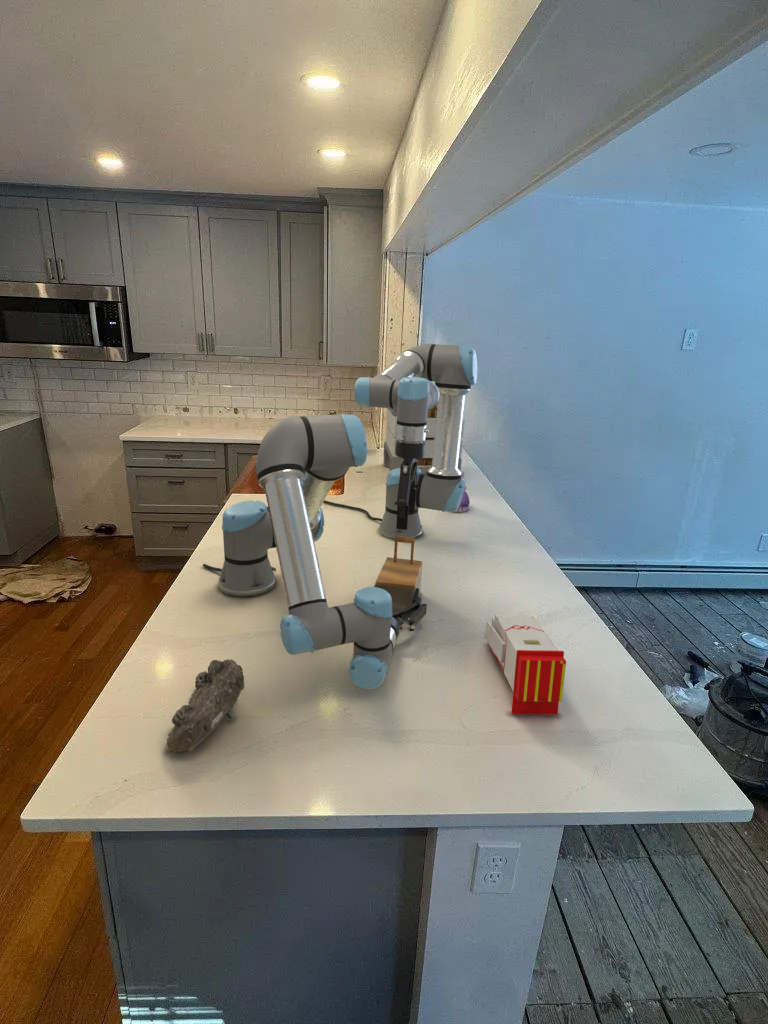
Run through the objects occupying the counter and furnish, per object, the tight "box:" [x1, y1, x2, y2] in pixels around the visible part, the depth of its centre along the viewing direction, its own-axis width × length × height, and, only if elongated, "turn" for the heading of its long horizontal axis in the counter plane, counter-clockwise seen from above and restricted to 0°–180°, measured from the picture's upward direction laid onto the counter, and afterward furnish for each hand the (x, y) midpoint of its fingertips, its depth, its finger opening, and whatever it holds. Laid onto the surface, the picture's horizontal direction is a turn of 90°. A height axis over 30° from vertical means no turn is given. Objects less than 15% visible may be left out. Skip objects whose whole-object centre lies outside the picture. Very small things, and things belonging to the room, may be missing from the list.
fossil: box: [166, 658, 245, 754], centre depth 106 cm, size 22×10×15 cm
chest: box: [376, 566, 423, 621], centre depth 151 cm, size 15×10×9 cm, turn 169°
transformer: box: [383, 402, 465, 473], centre depth 268 cm, size 34×33×41 cm
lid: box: [375, 536, 424, 589], centre depth 148 cm, size 16×10×8 cm, turn 169°
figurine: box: [454, 471, 470, 513], centre depth 225 cm, size 9×10×15 cm
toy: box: [484, 614, 567, 716], centre depth 124 cm, size 12×13×30 cm
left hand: (397, 590), depth 147 cm, fingers closed on chest, 10 cm apart
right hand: (405, 519), depth 150 cm, fingers open, 13 cm apart
